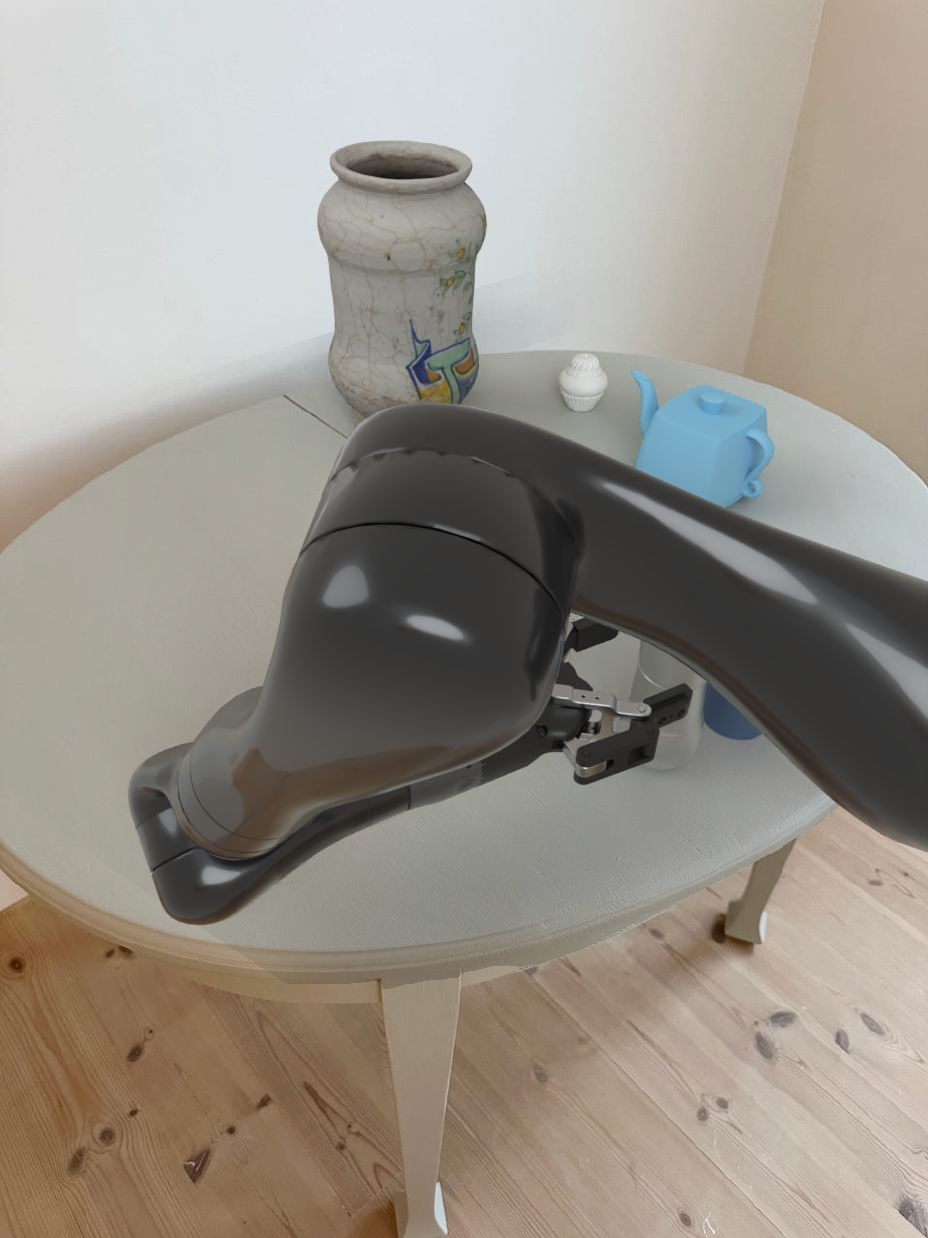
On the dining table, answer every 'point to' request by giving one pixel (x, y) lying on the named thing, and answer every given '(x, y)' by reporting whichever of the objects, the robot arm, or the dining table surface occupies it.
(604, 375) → the muffin
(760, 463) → the teapot
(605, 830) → the dining table surface
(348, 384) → the vase
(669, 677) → the silver metal bottle
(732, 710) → the blue canister
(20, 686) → the dining table surface
